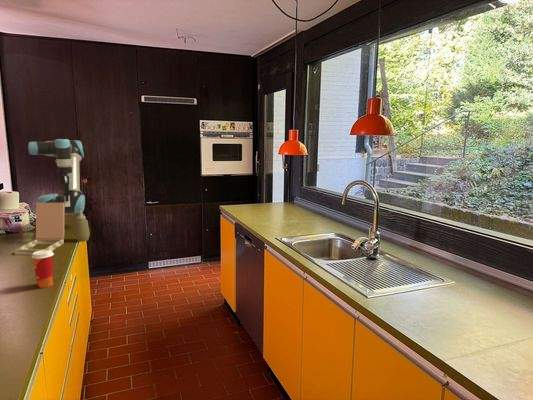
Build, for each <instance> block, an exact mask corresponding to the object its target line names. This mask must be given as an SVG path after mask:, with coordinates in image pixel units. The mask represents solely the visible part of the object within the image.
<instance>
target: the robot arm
mask: <svg viewBox="0 0 533 400" xmlns="http://www.w3.org/2000/svg"><path fill="white" fill-rule="evenodd" d="M27 149H28V153H29V155H35V156H42V155H43V156H47V157H53V158H56V160H55V163H56V166H57V168H56V169H57V170H56V171H57V172H56V173H58V174H59V175H60V174H62V175H61V176H60V177H61V183H62V185H63V186H62V187H63V192H62V195H59V194H58V193H49V194H43V195H40V196H38V197H37V202H36V203H64V215H65V214H66V215H67V214H68V215H69V214H79V210H82V213H83V212H84V211H85V205H86V196H85V195H84V194H83V192H82V191H81V188H80V187H81V184H80V183H81V181H80V179H81V176H80V162H81V161H82V159H83V158H85V153H84V148H83V144H82V141H81V140H75V139H73V140H69V138H65V139H64V138H63V139H62V138H57V139H53V140H48V141H29V142H28V146H27Z"/></svg>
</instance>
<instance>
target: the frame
mask: <svg viewBox="0 0 533 400" xmlns="http://www.w3.org/2000/svg"><path fill="white" fill-rule="evenodd" d="M64 239H65V238H63V239H36V238H35V239H34V240H32V241H30V242H28V243H26V244H24V245H22V246H20V247H18V248H16V249H14V255H15V256H23V255H24V256H27V255H28V256H29V255H30V256H32V255H33V253H34V252H36V251H41V250H44V251H45V250H48V251H49V250H51V251H52V252H53V251H54V250H56V249H58V248H59V247H61V246H62V245H64V244H65V242H64ZM36 245H49V246H48V247H46V248H44V249H43V248H42V249H37V248H36V249H31V248H33V247H34V246H36Z"/></svg>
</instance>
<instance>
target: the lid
mask: <svg viewBox="0 0 533 400" xmlns="http://www.w3.org/2000/svg"><path fill="white" fill-rule="evenodd" d="M36 239H65V214H64V203H37V202H35V240H36Z"/></svg>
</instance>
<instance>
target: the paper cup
mask: <svg viewBox="0 0 533 400" xmlns="http://www.w3.org/2000/svg"><path fill="white" fill-rule="evenodd" d="M54 255H55V253H54V252H53V250H52V251H51V250H49V251H48V250H45V251H44V250H41V251H36V252H34V253H33V255H31V259H32V262H33V263H32V264H33V269H34V273H35V275H34V276H35V279H36V285H37V288H39V289H46V288H50V287H51V286H53V285H54Z"/></svg>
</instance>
